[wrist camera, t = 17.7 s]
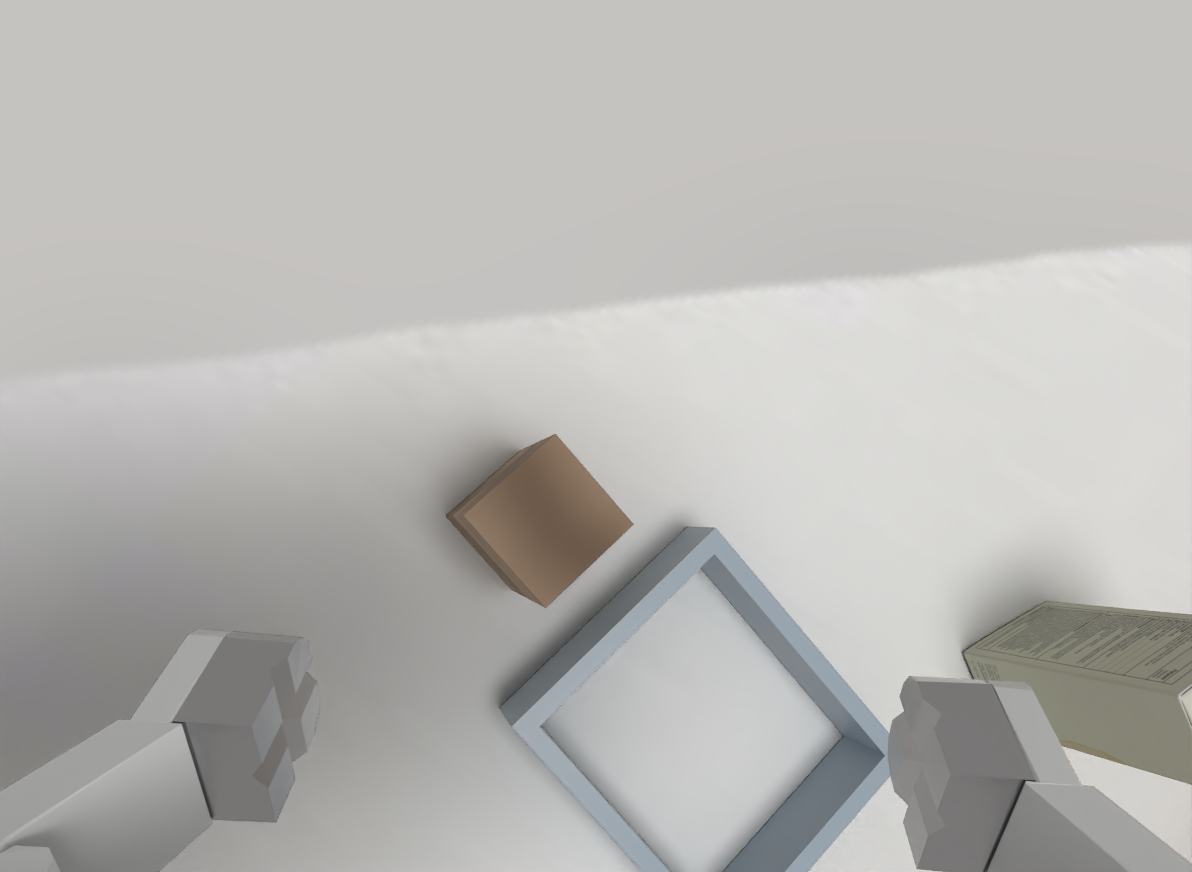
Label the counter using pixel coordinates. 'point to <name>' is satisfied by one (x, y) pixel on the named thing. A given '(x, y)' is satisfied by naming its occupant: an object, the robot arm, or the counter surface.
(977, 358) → the counter surface
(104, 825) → the robot arm
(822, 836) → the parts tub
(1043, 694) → the skincare box
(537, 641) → the counter surface
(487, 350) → the counter surface
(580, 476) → the walnut block
